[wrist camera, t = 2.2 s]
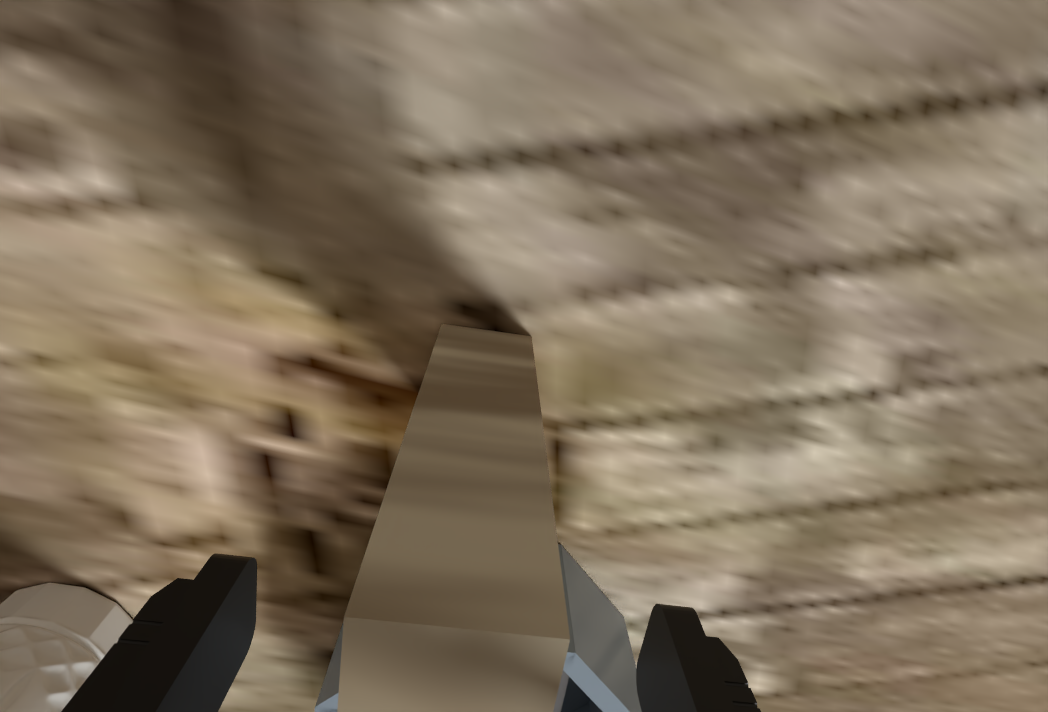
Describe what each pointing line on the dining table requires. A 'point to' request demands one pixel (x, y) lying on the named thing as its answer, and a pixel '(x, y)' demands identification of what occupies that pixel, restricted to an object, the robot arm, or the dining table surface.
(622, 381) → the dining table surface
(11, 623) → the white cup
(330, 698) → the blue octagonal holder
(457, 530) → the tan square peg
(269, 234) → the dining table surface
